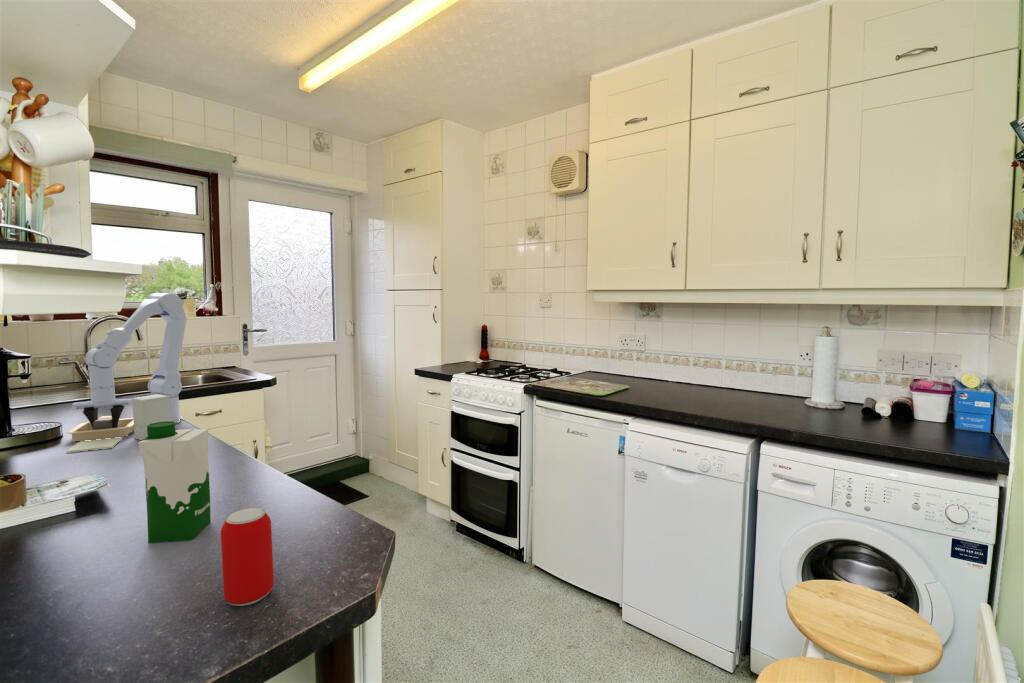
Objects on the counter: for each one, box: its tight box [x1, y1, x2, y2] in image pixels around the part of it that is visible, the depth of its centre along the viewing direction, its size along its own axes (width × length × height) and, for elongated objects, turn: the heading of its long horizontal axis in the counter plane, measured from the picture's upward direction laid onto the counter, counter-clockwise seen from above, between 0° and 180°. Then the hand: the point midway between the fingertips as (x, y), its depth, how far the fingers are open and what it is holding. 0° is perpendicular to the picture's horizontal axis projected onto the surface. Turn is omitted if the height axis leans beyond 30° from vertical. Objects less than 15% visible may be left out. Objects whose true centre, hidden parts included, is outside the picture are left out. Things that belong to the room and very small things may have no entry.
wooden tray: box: [66, 417, 134, 443], centre depth 151 cm, size 15×15×3 cm
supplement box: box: [131, 394, 171, 441], centre depth 147 cm, size 7×7×13 cm
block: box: [93, 415, 118, 430], centre depth 151 cm, size 8×4×5 cm, turn 26°
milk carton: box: [137, 421, 211, 544], centre depth 87 cm, size 9×9×20 cm
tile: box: [66, 437, 123, 454], centre depth 139 cm, size 10×10×1 cm
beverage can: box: [220, 507, 275, 607], centre depth 68 cm, size 6×6×12 cm
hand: (105, 430), depth 151 cm, fingers closed on block, 4 cm apart
